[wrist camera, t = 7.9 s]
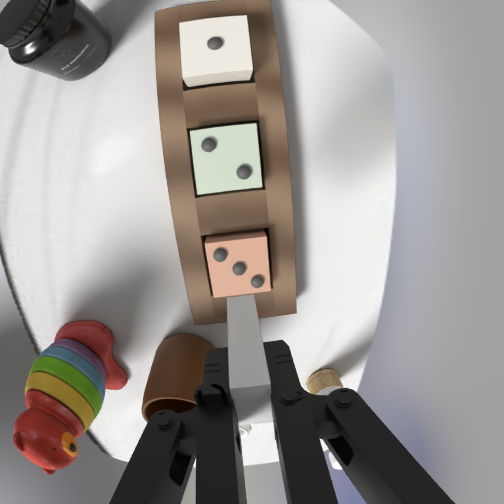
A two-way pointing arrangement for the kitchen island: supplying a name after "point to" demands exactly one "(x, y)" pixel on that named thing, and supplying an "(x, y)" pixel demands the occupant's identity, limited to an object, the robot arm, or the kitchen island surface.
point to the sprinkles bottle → (325, 392)
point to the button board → (235, 201)
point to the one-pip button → (215, 50)
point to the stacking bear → (66, 393)
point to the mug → (175, 375)
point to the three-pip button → (238, 262)
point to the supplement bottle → (54, 37)
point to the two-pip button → (226, 158)
